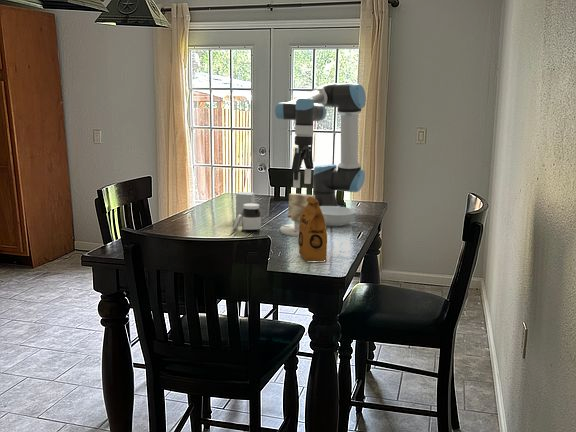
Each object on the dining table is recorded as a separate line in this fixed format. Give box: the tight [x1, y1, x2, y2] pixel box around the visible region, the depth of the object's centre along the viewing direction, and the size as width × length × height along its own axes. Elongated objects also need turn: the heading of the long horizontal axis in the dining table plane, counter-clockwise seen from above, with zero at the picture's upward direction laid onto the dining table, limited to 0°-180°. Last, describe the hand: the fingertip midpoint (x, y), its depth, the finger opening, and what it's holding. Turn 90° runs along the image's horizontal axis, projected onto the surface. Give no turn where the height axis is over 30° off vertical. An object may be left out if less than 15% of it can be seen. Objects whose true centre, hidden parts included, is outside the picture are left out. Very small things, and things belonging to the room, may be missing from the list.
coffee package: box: [297, 197, 328, 262], centre depth 206 cm, size 10×12×22 cm
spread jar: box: [232, 202, 262, 234], centre depth 248 cm, size 12×11×12 cm
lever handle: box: [286, 192, 315, 222], centre depth 247 cm, size 12×9×11 cm
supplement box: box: [235, 191, 256, 222], centre depth 270 cm, size 7×7×13 cm
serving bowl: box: [320, 205, 356, 228], centre depth 264 cm, size 21×21×7 cm
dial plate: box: [279, 221, 300, 237], centre depth 249 cm, size 18×18×5 cm
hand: (302, 185), depth 245 cm, fingers open, 13 cm apart
